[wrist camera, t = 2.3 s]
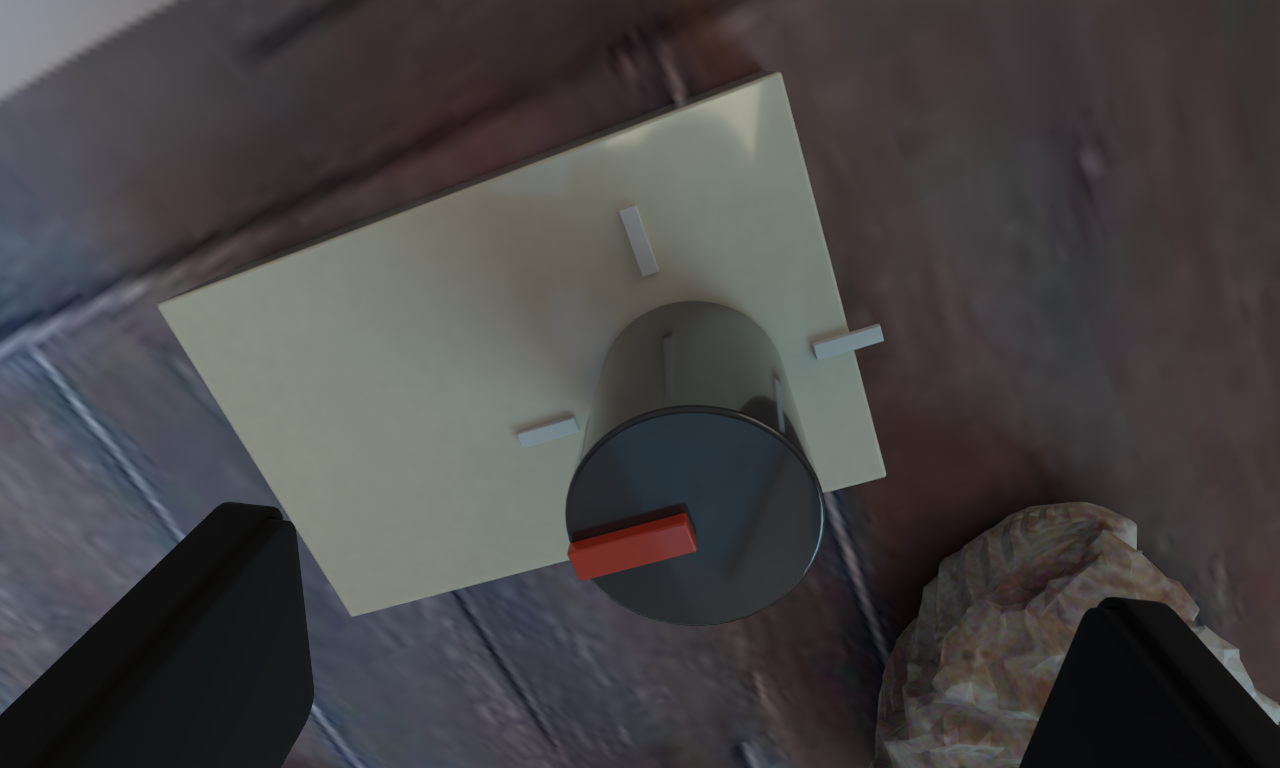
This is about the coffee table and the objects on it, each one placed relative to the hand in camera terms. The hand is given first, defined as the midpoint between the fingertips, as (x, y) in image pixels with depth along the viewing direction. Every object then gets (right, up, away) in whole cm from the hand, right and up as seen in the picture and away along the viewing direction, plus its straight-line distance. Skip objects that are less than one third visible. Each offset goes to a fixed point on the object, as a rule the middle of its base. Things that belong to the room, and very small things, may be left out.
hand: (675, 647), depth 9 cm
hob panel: (-3, +4, +10) cm, 11 cm away
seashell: (+11, -6, +14) cm, 19 cm away
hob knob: (+1, +3, +7) cm, 8 cm away
